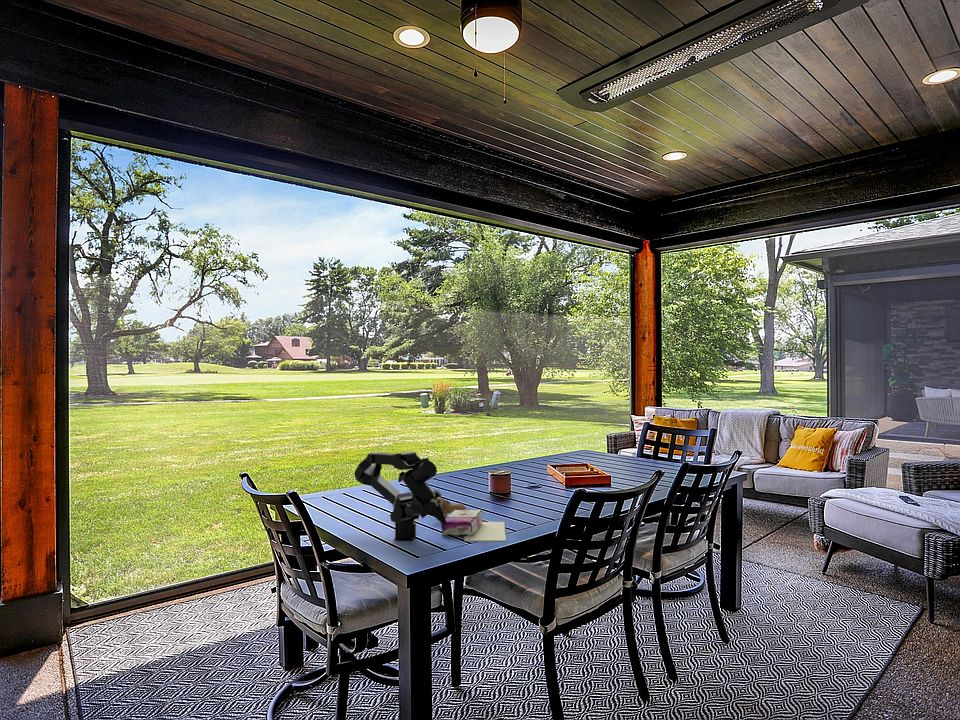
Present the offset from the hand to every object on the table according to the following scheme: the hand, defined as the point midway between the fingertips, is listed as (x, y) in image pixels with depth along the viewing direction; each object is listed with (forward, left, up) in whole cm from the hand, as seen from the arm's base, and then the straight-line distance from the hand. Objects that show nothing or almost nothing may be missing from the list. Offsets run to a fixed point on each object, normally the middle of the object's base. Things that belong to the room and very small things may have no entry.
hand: (445, 523), depth 192 cm
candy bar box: (+3, +5, -3) cm, 7 cm away
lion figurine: (0, +24, -6) cm, 25 cm away
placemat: (+13, +11, -6) cm, 18 cm away
